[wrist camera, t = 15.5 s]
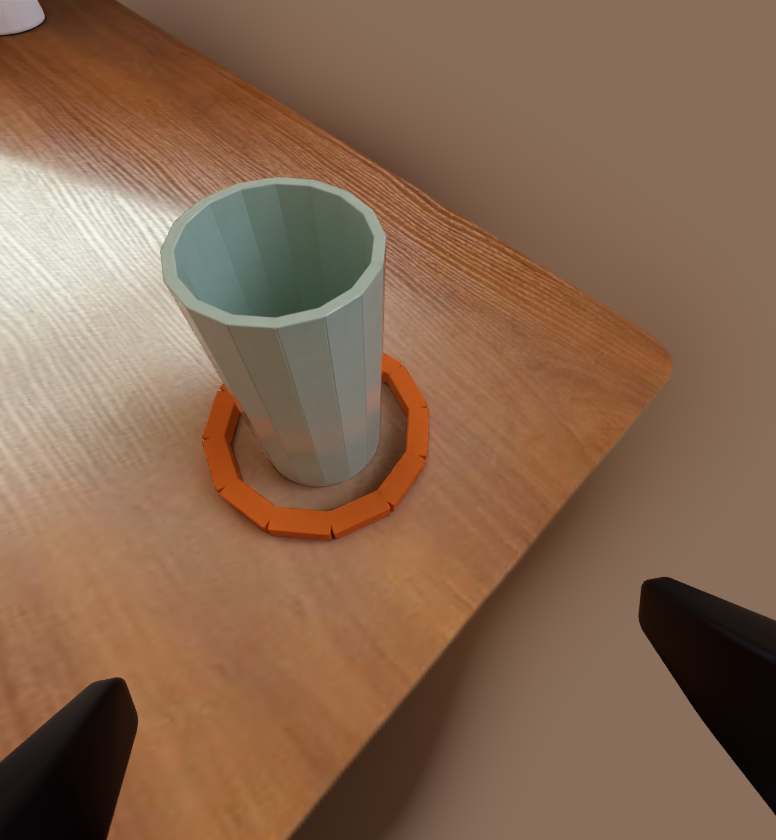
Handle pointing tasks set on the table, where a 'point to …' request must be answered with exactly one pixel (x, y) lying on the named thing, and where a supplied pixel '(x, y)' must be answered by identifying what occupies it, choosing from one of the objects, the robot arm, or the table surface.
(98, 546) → the table surface
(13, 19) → the mug
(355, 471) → the cup
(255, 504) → the ring
